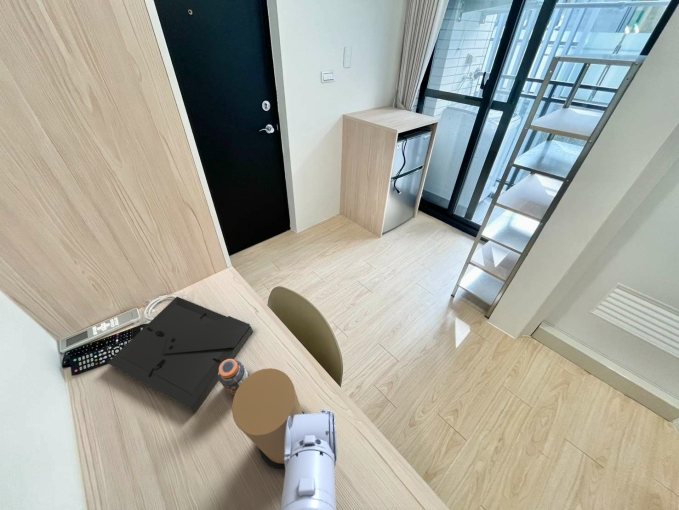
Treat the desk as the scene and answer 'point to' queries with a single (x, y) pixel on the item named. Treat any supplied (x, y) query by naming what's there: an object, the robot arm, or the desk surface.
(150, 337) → the picture frame
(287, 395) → the tan pedal trash can
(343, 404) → the desk surface
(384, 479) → the desk surface
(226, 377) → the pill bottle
